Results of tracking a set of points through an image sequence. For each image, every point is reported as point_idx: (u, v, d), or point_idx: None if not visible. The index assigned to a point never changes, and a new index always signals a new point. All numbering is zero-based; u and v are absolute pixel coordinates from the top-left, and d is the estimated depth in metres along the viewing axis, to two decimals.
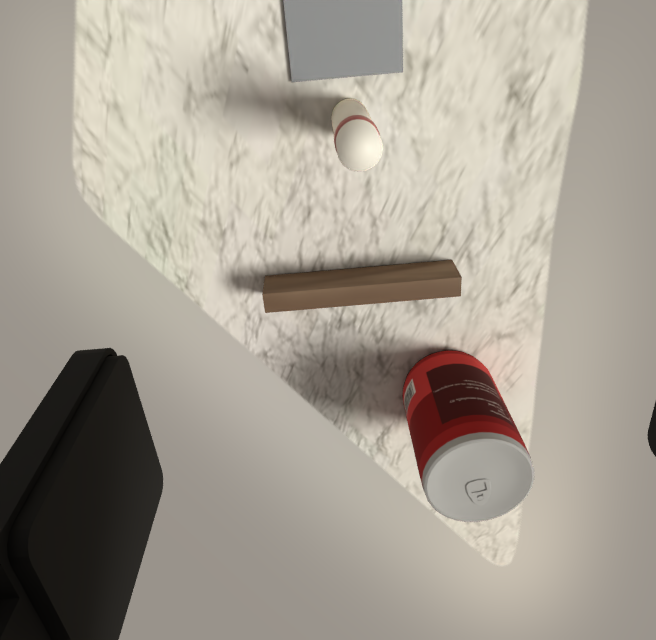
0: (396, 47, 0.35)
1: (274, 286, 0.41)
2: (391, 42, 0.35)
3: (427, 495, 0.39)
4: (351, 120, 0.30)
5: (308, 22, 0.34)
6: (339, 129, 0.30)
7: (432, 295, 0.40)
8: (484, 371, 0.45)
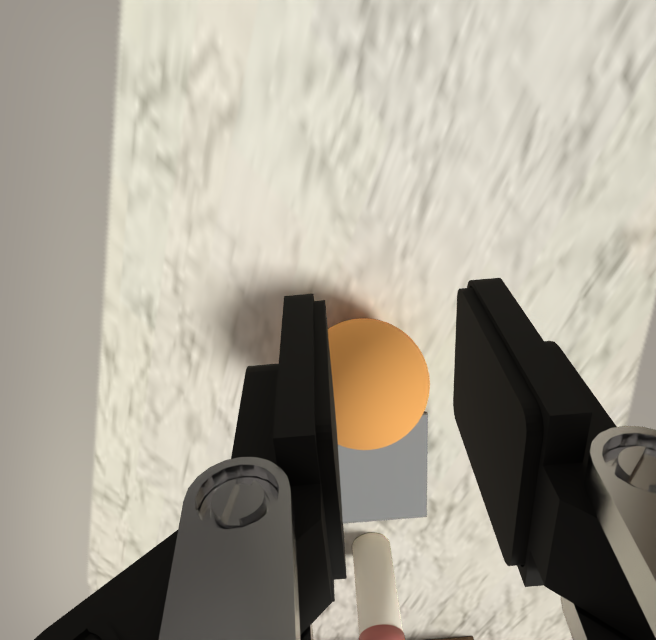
0: (420, 500, 0.34)
1: None
2: (415, 497, 0.34)
3: None
4: None
5: None
6: None
7: None
8: None
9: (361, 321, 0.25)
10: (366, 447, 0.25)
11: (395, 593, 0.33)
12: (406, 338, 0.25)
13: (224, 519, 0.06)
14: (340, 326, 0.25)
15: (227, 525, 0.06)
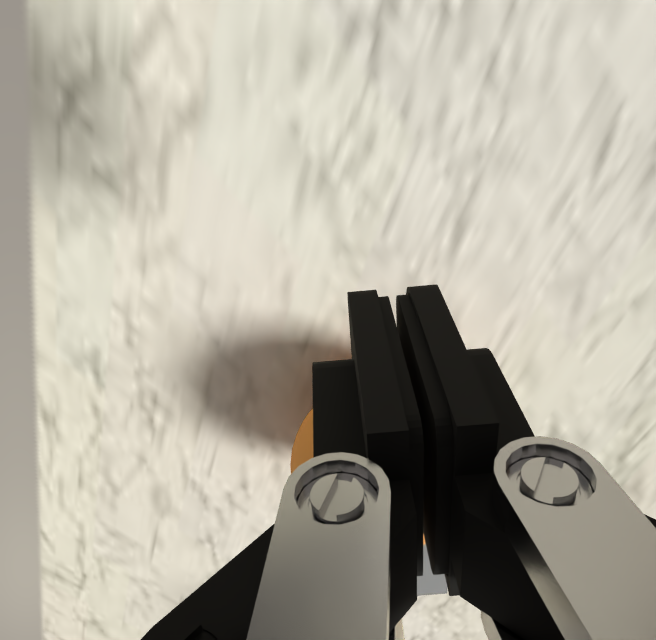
0: (440, 576, 0.28)
1: None
2: None
3: None
4: None
5: None
6: None
7: None
8: None
9: None
10: None
11: None
12: None
13: (321, 513, 0.06)
14: None
15: (323, 519, 0.06)
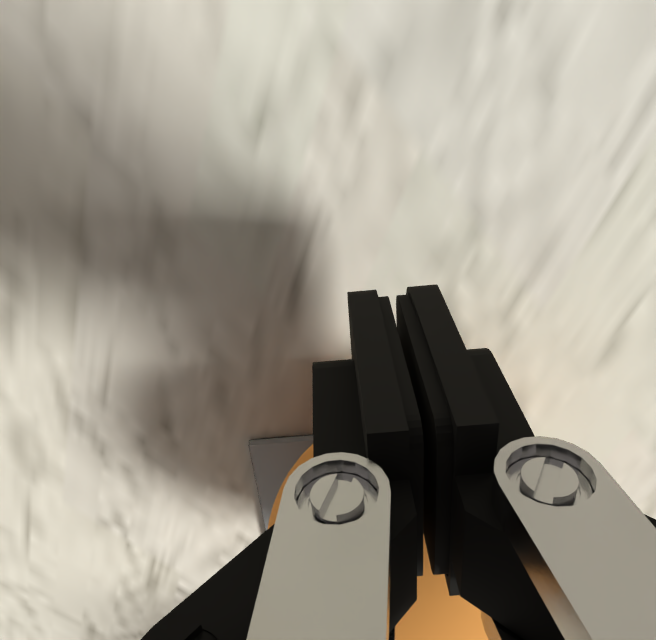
0: None
1: None
2: None
3: None
4: None
5: None
6: None
7: None
8: None
9: None
10: None
11: None
12: None
13: (321, 513, 0.06)
14: None
15: (324, 519, 0.06)
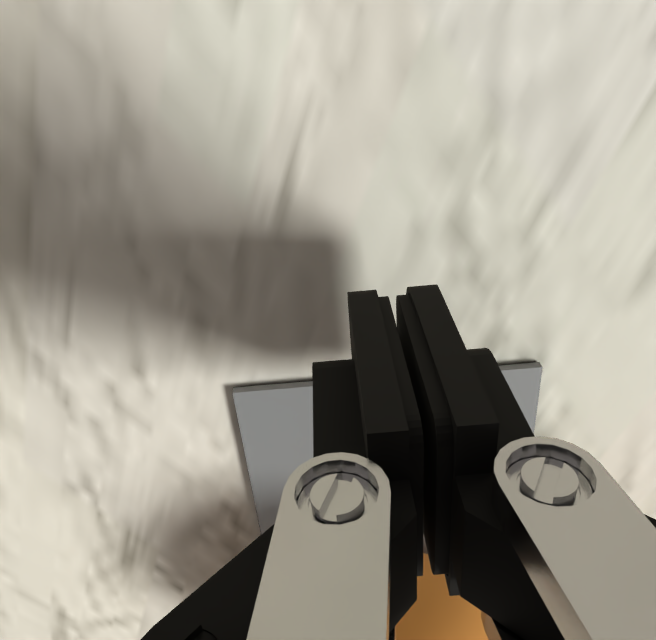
0: None
1: None
2: None
3: None
4: None
5: None
6: None
7: None
8: None
9: None
10: None
11: None
12: None
13: (321, 513, 0.06)
14: None
15: (324, 519, 0.06)
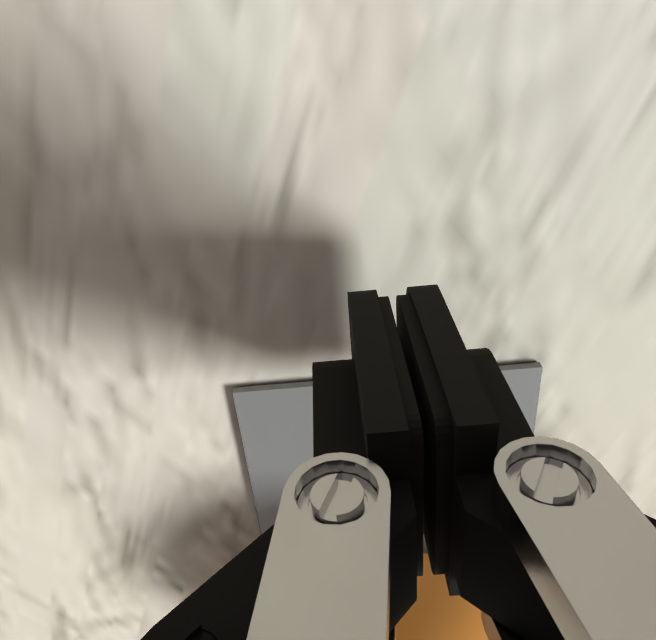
0: None
1: None
2: None
3: None
4: None
5: None
6: None
7: None
8: None
9: None
10: None
11: None
12: None
13: (321, 513, 0.06)
14: None
15: (324, 519, 0.06)
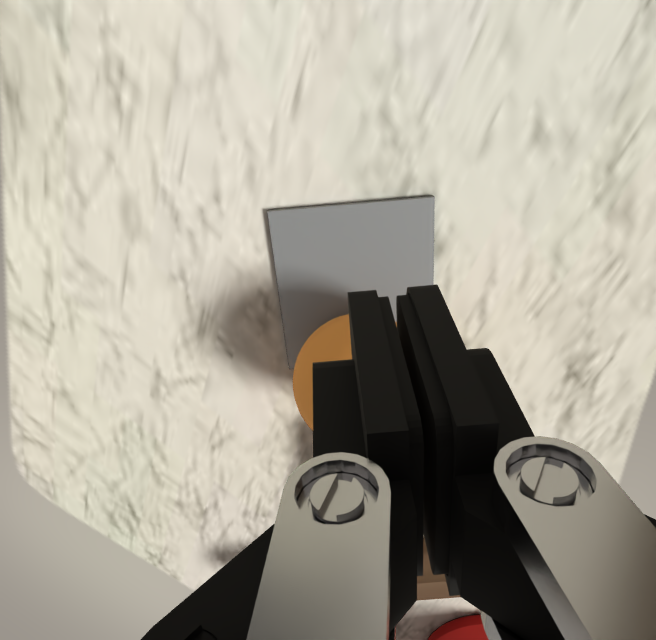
0: None
1: None
2: None
3: None
4: None
5: (311, 308, 0.26)
6: None
7: None
8: None
9: None
10: None
11: None
12: None
13: (321, 513, 0.06)
14: None
15: (323, 519, 0.06)
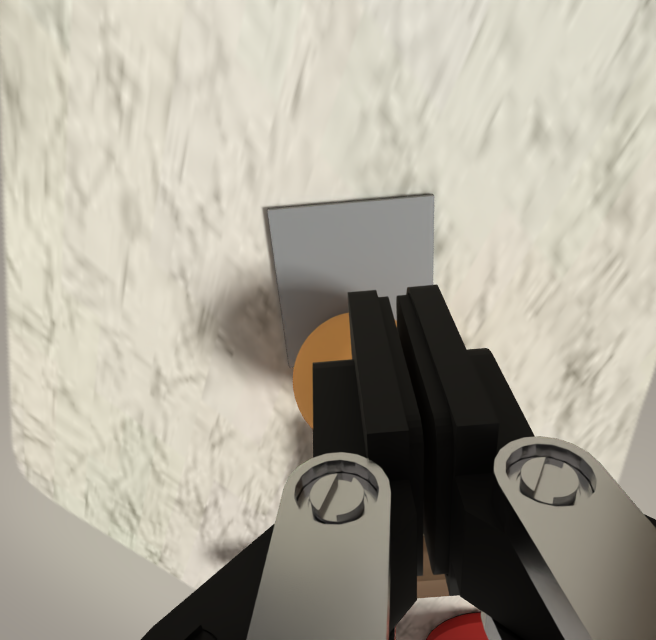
0: None
1: None
2: None
3: None
4: None
5: (311, 307, 0.26)
6: None
7: None
8: None
9: None
10: None
11: None
12: None
13: (321, 513, 0.06)
14: None
15: (324, 519, 0.06)
